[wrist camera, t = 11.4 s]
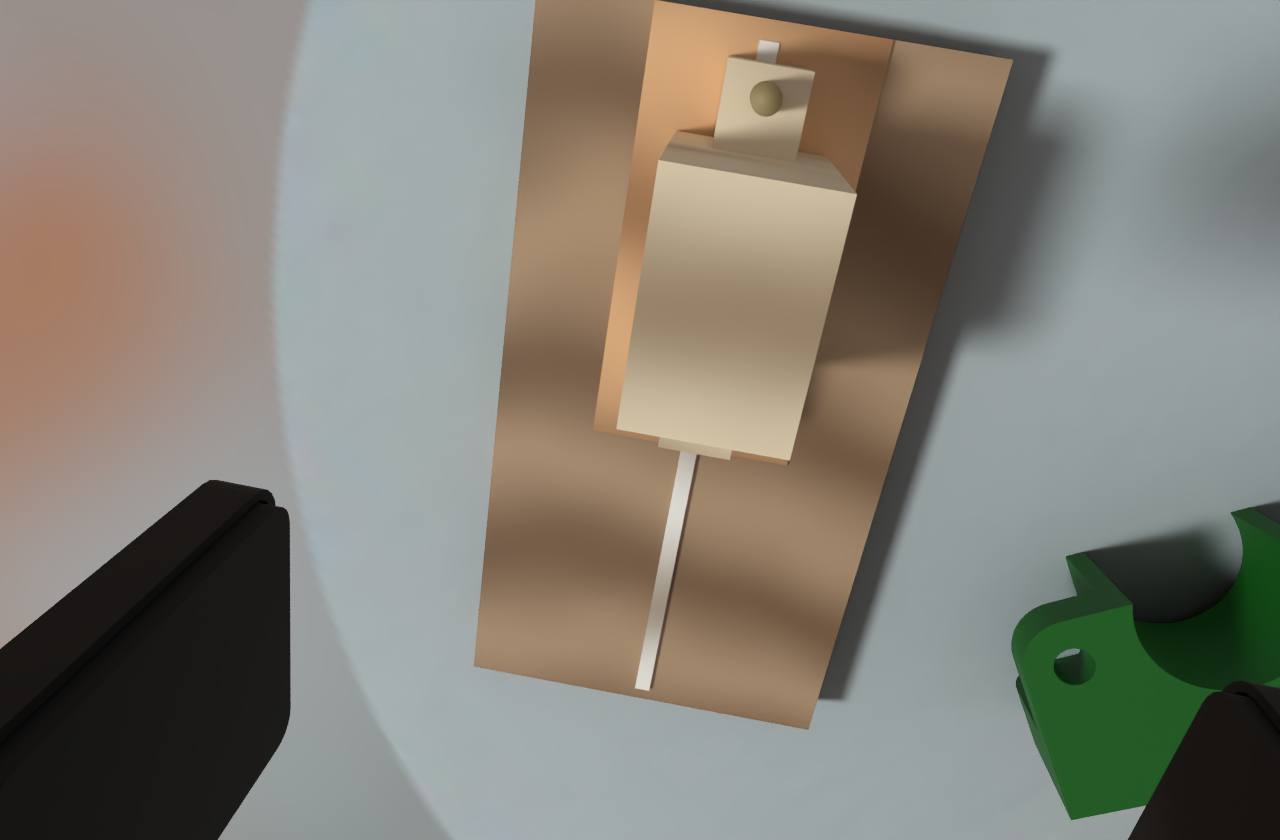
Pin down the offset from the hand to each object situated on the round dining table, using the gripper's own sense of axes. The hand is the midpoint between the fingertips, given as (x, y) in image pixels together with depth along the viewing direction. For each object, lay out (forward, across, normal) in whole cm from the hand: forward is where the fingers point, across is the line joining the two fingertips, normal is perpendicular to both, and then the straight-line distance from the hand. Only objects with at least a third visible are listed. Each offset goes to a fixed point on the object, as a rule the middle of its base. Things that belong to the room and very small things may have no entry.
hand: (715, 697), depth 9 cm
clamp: (+19, -16, +8) cm, 26 cm away
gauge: (+17, 0, -1) cm, 17 cm away
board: (+18, 0, +4) cm, 19 cm away
